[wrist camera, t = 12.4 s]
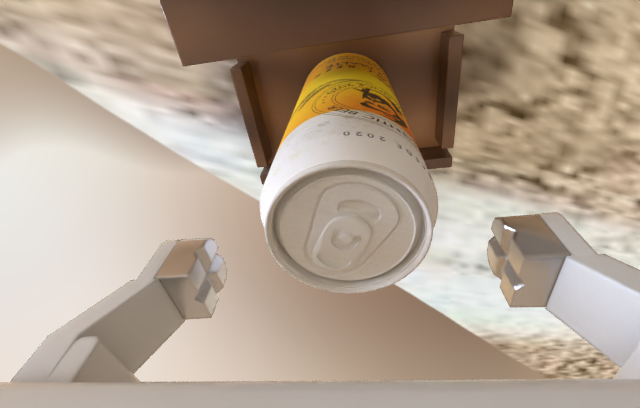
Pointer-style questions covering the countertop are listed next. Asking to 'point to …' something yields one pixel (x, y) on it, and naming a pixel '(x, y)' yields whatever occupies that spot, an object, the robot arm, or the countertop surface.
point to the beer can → (348, 184)
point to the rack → (325, 41)
